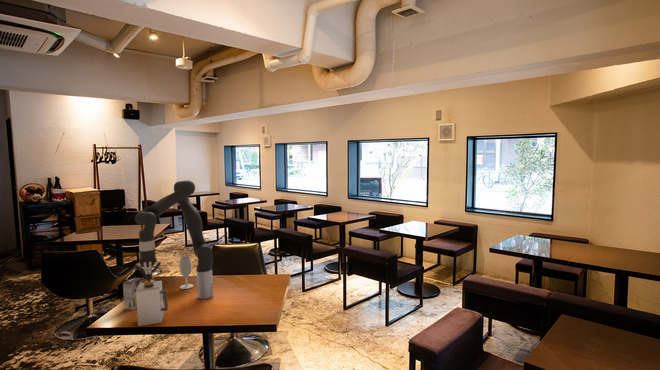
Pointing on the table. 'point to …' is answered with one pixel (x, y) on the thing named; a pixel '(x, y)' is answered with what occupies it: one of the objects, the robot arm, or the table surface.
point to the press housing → (150, 303)
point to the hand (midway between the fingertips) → (149, 280)
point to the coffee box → (131, 292)
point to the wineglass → (185, 270)
